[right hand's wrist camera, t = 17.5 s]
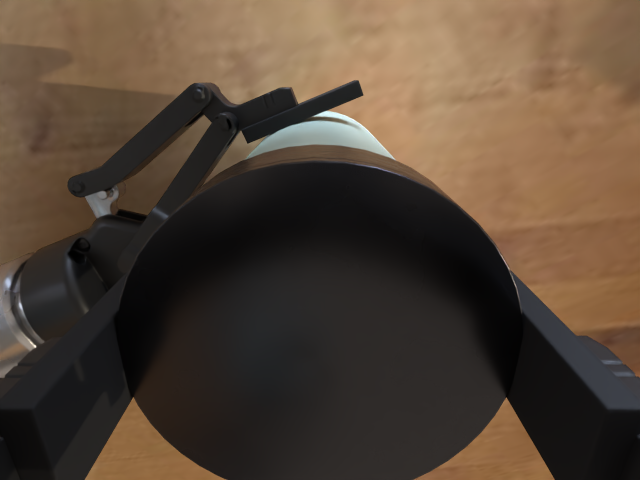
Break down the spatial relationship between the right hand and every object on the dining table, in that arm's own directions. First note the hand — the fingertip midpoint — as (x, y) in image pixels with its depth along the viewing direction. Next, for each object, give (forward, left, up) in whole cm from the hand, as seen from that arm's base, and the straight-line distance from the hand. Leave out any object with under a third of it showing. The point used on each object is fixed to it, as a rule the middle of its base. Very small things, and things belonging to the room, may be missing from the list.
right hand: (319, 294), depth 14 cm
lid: (0, 0, +3) cm, 3 cm away
